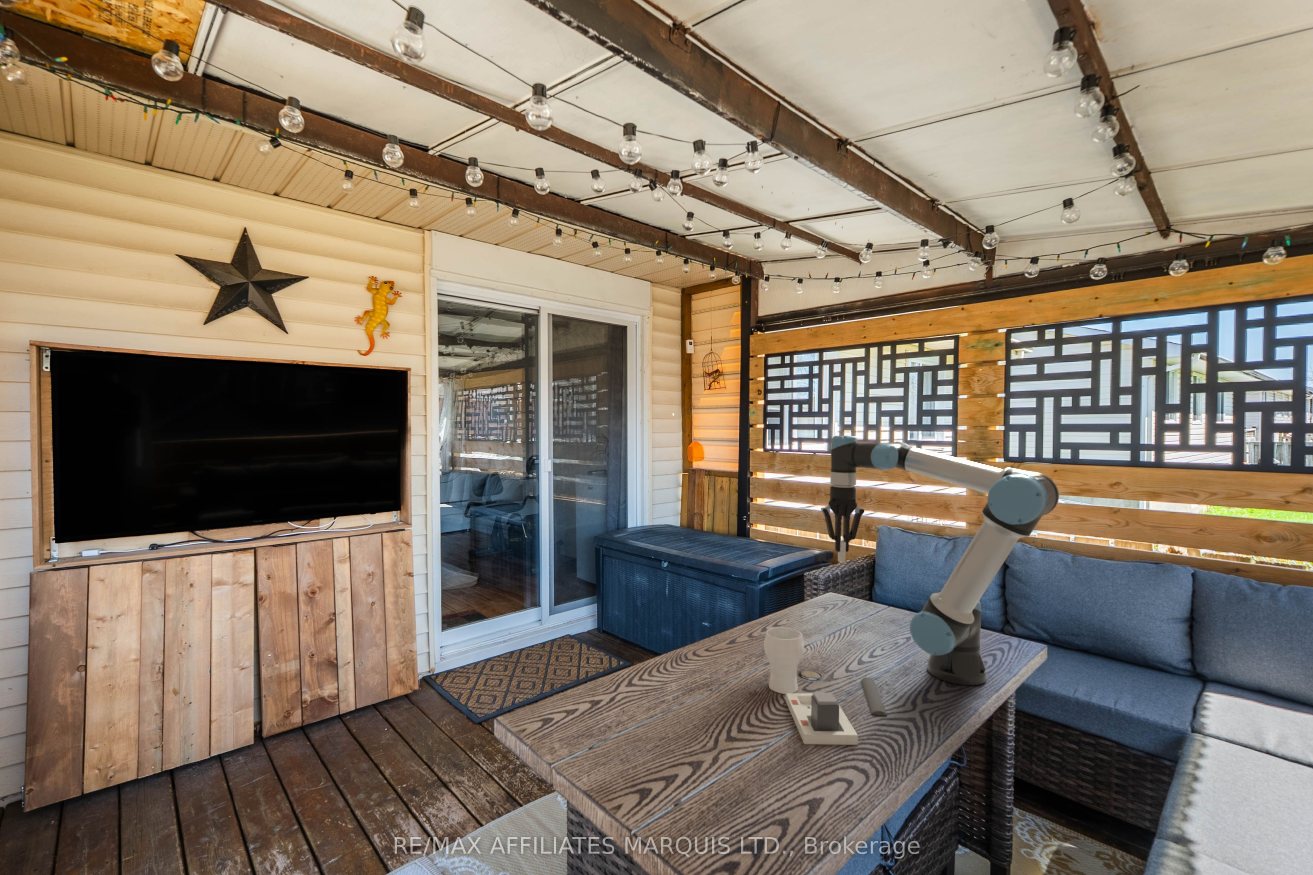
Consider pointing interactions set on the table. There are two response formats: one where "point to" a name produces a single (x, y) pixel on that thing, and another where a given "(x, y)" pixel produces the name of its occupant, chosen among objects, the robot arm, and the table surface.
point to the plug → (824, 712)
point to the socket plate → (802, 718)
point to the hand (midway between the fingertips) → (841, 561)
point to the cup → (783, 657)
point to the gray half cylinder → (873, 697)
